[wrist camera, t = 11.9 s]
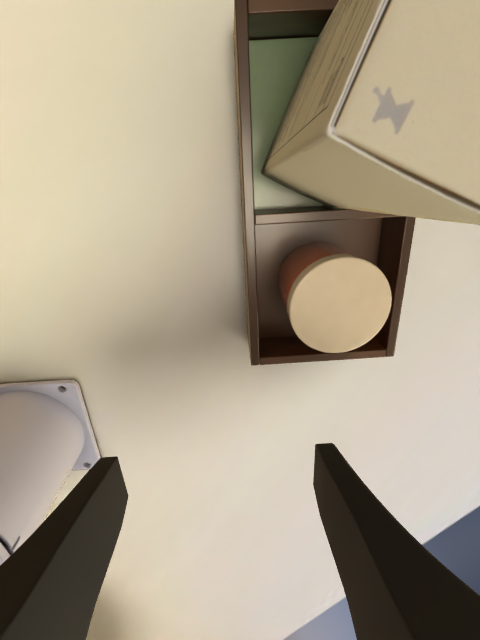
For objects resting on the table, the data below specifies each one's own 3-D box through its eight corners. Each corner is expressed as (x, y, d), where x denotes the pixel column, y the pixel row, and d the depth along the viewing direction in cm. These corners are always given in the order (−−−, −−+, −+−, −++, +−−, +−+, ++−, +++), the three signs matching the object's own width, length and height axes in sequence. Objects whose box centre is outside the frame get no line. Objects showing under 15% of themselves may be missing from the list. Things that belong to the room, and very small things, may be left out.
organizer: (248, 342, 21) (251, 365, 18) (233, 32, 15) (234, -3, 12) (372, 334, 21) (394, 356, 19) (411, 23, 15) (453, -14, 12)
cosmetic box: (329, 208, 17) (513, 249, 6) (255, 172, 17) (313, 145, 5) (394, 80, 15) (860, -213, 4) (313, 32, 14) (616, -513, 3)
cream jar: (275, 318, 20) (289, 356, 16) (274, 242, 18) (290, 260, 14) (350, 314, 20) (385, 350, 16) (357, 237, 18) (399, 254, 14)
